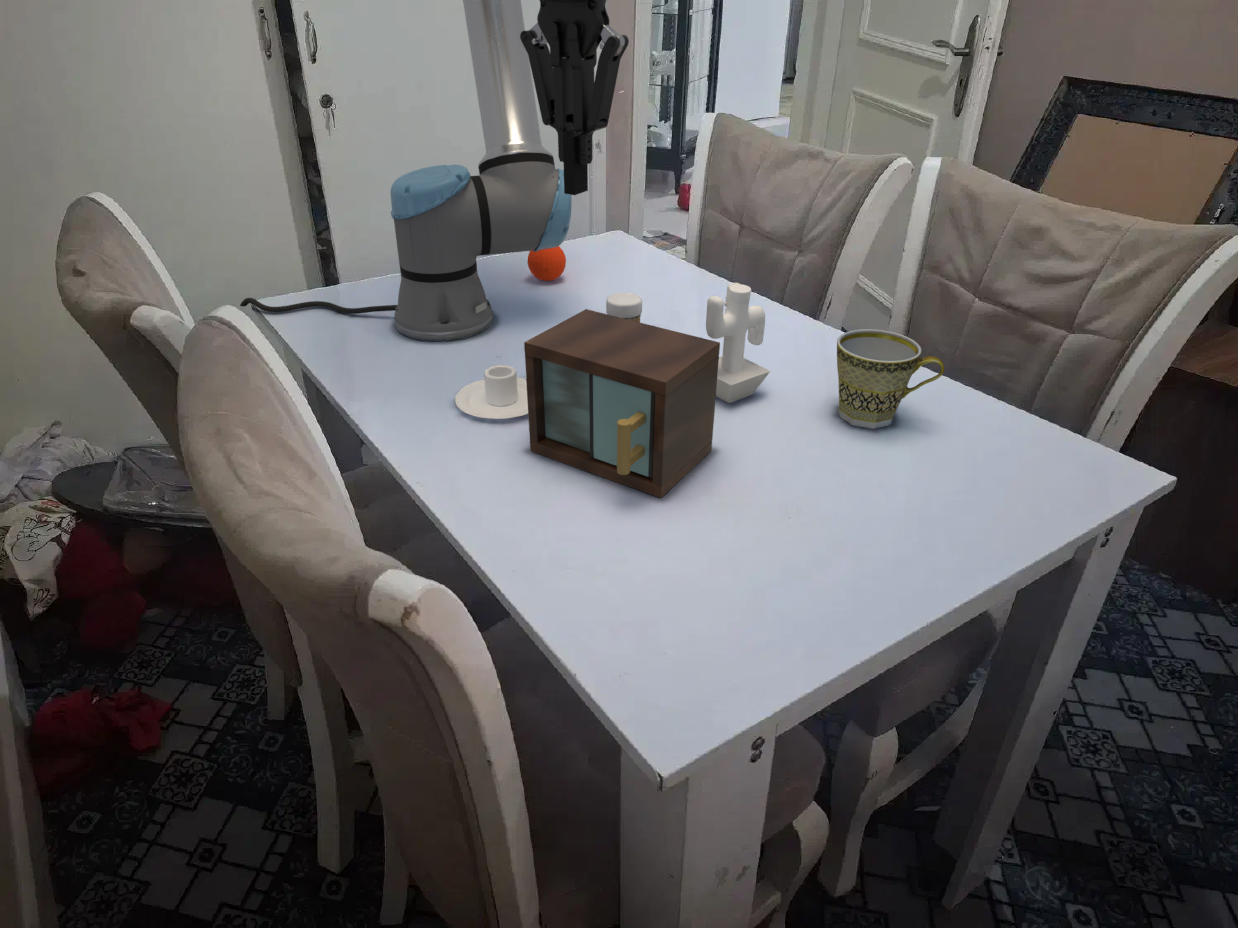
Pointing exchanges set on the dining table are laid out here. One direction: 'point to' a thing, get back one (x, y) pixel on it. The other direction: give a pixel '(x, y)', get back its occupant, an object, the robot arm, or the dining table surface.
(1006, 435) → the dining table surface
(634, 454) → the glass door
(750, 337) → the figurine
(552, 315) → the dining table surface
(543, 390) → the cabinet
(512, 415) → the candle holder
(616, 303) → the sprinkles bottle
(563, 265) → the clementine
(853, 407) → the ceramic cup
